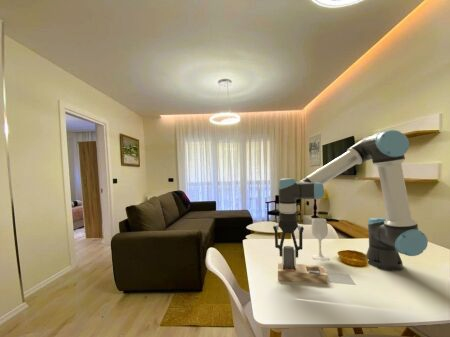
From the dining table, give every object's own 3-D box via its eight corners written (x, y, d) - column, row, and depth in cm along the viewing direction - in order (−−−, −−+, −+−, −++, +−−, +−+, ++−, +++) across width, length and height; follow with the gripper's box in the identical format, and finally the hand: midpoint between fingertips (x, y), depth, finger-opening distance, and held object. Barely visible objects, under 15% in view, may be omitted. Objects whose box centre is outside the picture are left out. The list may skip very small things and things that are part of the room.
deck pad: (348, 274, 99) (348, 273, 99) (355, 285, 90) (355, 284, 90) (324, 272, 102) (324, 271, 102) (329, 283, 92) (329, 282, 92)
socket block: (323, 274, 100) (323, 264, 100) (327, 284, 91) (327, 273, 91) (278, 270, 105) (278, 261, 105) (278, 279, 96) (277, 269, 96)
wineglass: (311, 259, 117) (310, 220, 117) (312, 254, 125) (310, 217, 125) (329, 262, 114) (328, 221, 114) (328, 256, 122) (327, 218, 122)
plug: (294, 270, 101) (293, 246, 101) (294, 274, 96) (293, 249, 97) (284, 269, 102) (283, 245, 102) (284, 273, 97) (283, 248, 98)
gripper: (307, 211, 101) (308, 262, 101) (268, 210, 105) (269, 259, 105) (309, 214, 94) (310, 269, 93) (267, 213, 98) (269, 265, 98)
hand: (289, 263), depth 99 cm, fingers closed on plug, 4 cm apart
